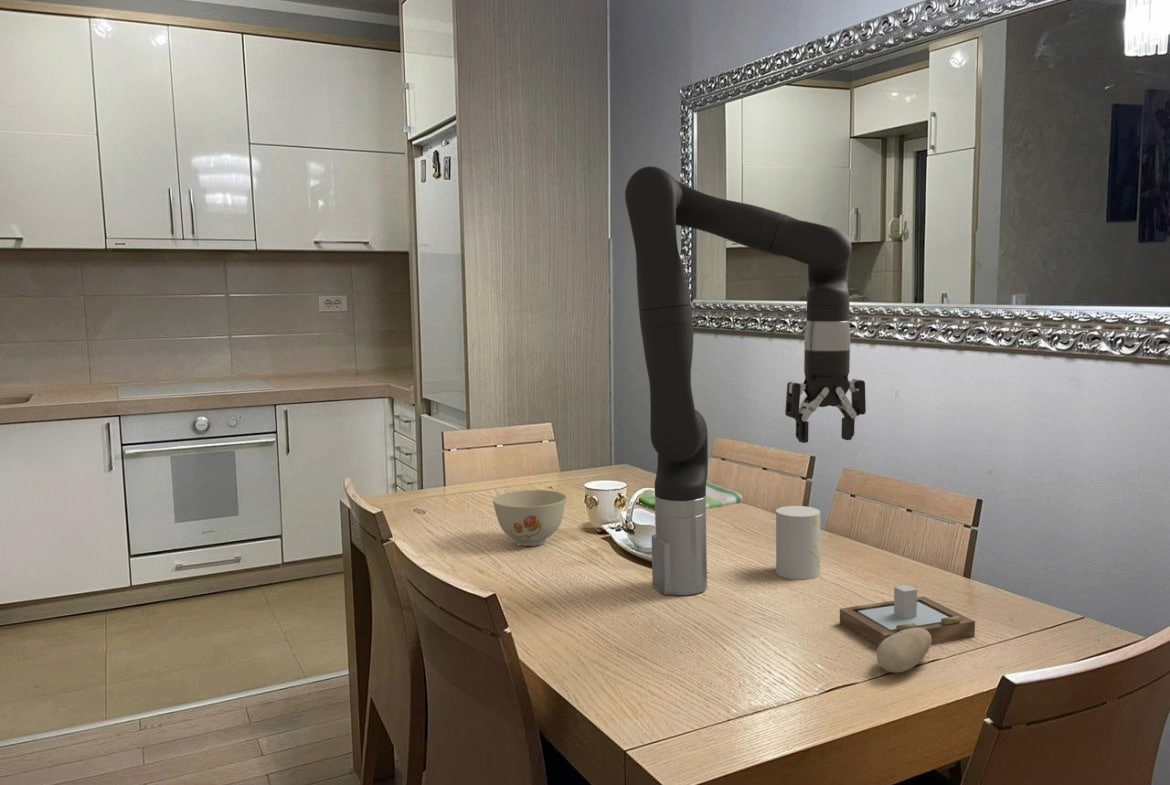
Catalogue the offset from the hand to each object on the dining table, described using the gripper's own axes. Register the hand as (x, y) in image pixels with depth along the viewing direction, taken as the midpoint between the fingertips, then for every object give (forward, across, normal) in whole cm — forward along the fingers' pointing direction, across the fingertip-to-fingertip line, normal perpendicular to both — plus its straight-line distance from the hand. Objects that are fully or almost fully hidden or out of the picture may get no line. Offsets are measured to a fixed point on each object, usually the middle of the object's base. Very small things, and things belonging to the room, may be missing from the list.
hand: (825, 440), depth 153 cm
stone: (+28, -5, -30) cm, 41 cm away
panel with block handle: (+26, +4, -19) cm, 32 cm away
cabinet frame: (+27, +4, -19) cm, 33 cm away
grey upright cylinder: (+28, +2, +12) cm, 30 cm away
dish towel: (+29, +5, +72) cm, 78 cm away
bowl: (+29, -41, +51) cm, 71 cm away
